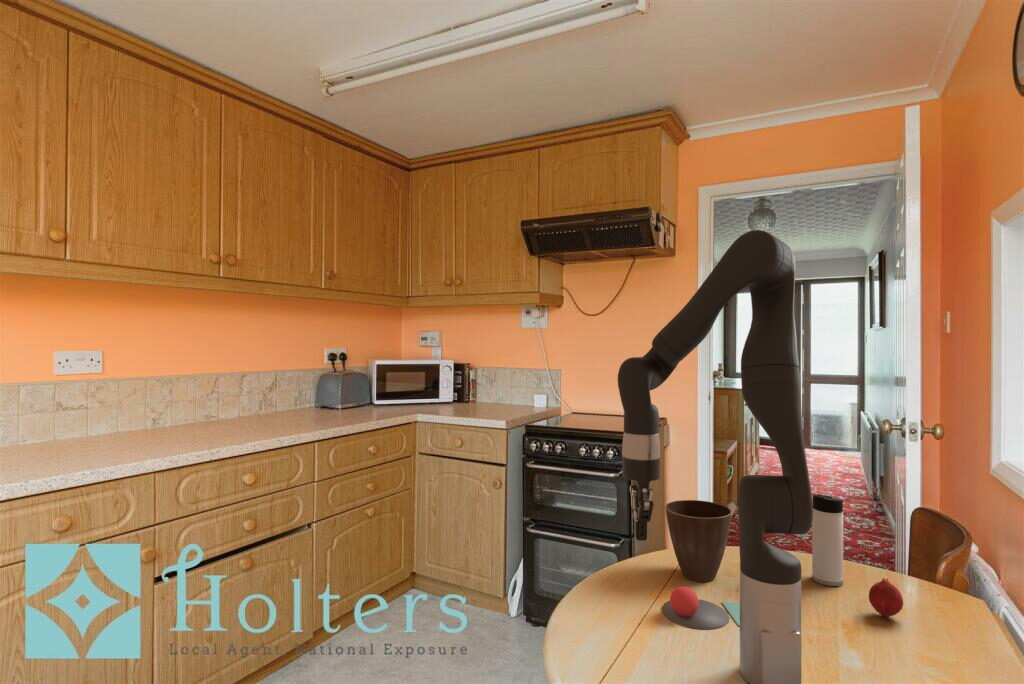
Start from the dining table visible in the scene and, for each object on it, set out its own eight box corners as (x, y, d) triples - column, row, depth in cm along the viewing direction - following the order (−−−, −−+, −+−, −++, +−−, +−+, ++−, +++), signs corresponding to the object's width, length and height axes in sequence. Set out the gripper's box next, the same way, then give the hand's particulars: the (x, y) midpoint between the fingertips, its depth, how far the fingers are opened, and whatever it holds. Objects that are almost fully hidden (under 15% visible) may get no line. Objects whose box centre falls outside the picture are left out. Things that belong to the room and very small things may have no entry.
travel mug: (805, 578, 133) (805, 493, 133) (824, 574, 136) (824, 490, 136) (829, 589, 128) (830, 500, 127) (849, 584, 130) (849, 496, 130)
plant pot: (663, 583, 130) (663, 514, 130) (667, 560, 144) (667, 497, 144) (733, 593, 125) (733, 520, 125) (730, 567, 139) (730, 502, 139)
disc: (738, 630, 109) (738, 629, 109) (670, 628, 110) (670, 627, 110) (717, 599, 122) (717, 598, 122) (656, 598, 123) (656, 597, 123)
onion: (908, 625, 111) (908, 584, 111) (876, 622, 112) (876, 582, 112) (895, 611, 117) (895, 573, 117) (864, 609, 118) (864, 570, 118)
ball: (671, 595, 113) (667, 618, 114) (700, 603, 111) (696, 626, 113) (672, 577, 118) (669, 600, 119) (700, 584, 116) (696, 607, 118)
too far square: (790, 627, 110) (790, 626, 110) (738, 626, 111) (738, 625, 111) (769, 603, 120) (769, 602, 120) (721, 602, 121) (721, 601, 121)
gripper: (667, 461, 110) (667, 551, 110) (652, 448, 123) (652, 528, 123) (628, 461, 110) (627, 550, 110) (617, 448, 123) (617, 528, 123)
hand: (640, 539), depth 116 cm, fingers closed
